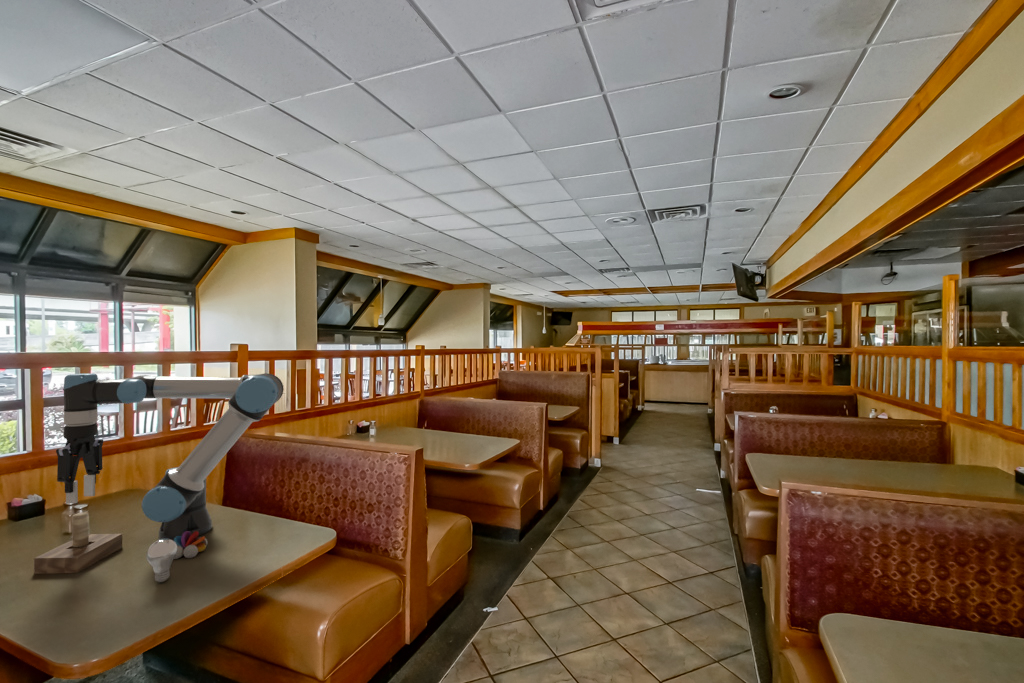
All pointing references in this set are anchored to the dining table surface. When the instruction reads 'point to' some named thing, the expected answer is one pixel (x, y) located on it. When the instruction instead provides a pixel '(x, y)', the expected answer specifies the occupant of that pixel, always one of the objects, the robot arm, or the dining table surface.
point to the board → (77, 555)
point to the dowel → (80, 530)
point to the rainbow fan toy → (189, 544)
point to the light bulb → (161, 557)
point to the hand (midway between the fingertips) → (80, 499)
